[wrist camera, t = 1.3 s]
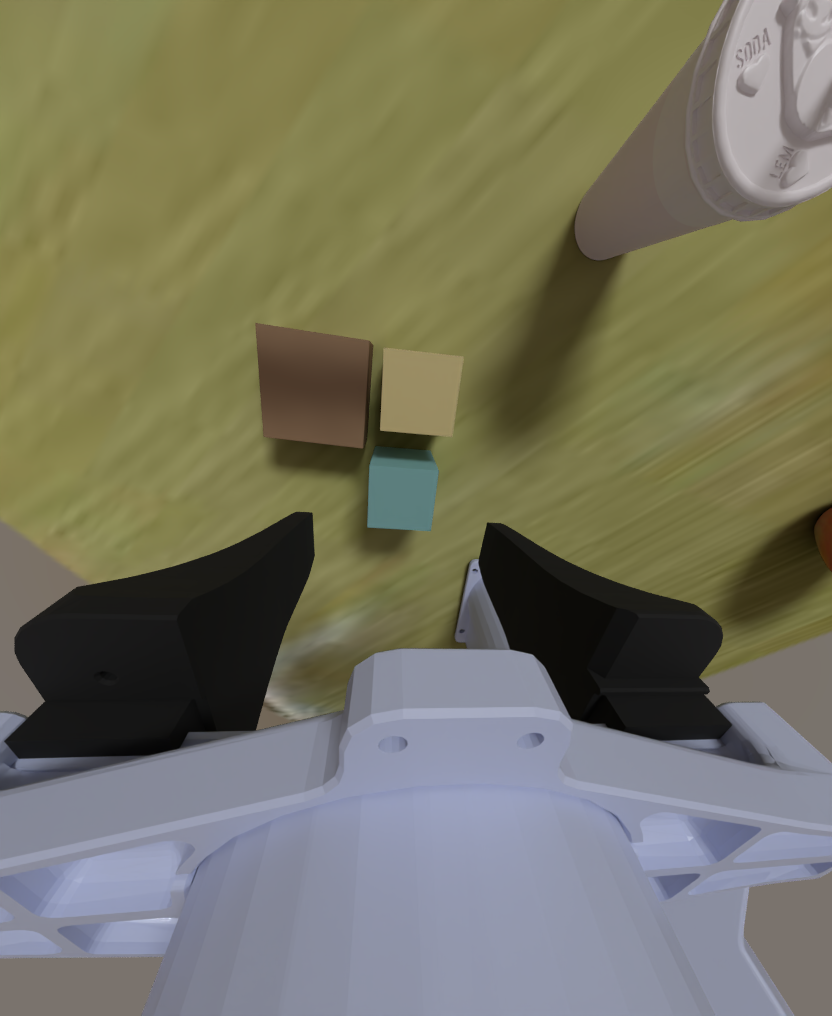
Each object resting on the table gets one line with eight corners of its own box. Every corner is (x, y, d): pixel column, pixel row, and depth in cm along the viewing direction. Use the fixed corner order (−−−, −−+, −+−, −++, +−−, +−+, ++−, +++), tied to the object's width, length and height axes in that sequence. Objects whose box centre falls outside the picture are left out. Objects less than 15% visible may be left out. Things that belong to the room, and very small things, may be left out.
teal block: (424, 500, 23) (430, 531, 19) (373, 497, 23) (367, 527, 19) (430, 450, 22) (438, 470, 17) (375, 445, 22) (369, 465, 17)
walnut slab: (367, 439, 21) (363, 448, 19) (281, 428, 21) (263, 436, 18) (373, 345, 19) (369, 340, 16) (276, 330, 18) (255, 322, 16)
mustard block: (440, 423, 21) (452, 436, 17) (383, 418, 21) (380, 430, 16) (448, 360, 19) (463, 356, 15) (387, 353, 19) (383, 347, 15)
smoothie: (603, 311, 19) (1036, 182, 6) (527, 239, 17) (910, -155, 4) (687, 199, 17) (1610, -356, 4) (611, 104, 15) (1796, -1388, 2)
